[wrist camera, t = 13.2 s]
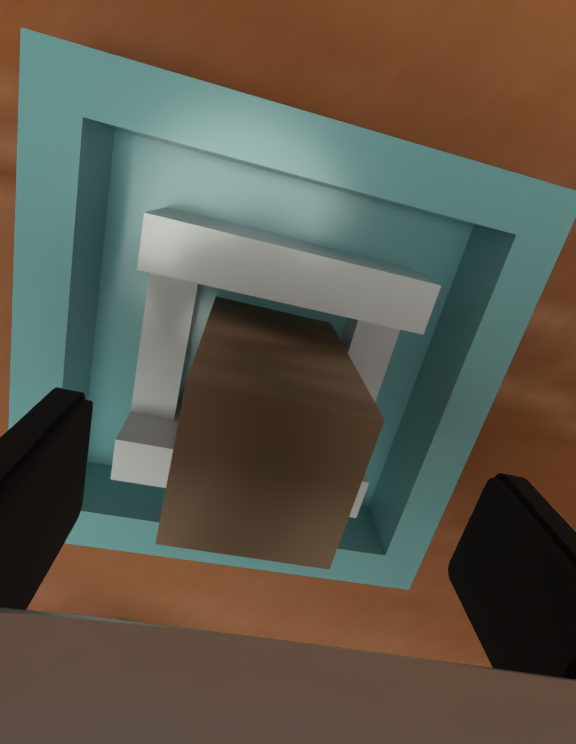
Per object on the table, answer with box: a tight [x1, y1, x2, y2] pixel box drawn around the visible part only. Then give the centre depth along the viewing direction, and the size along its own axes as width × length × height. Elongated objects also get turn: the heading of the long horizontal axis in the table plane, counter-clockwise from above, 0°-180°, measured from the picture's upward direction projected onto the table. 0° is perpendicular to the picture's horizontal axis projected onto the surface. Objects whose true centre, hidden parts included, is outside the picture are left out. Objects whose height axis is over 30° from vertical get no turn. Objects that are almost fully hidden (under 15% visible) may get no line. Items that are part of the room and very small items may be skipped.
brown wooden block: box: [155, 296, 385, 570], centre depth 15 cm, size 4×4×8 cm
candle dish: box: [9, 28, 576, 590], centre depth 17 cm, size 16×16×4 cm
